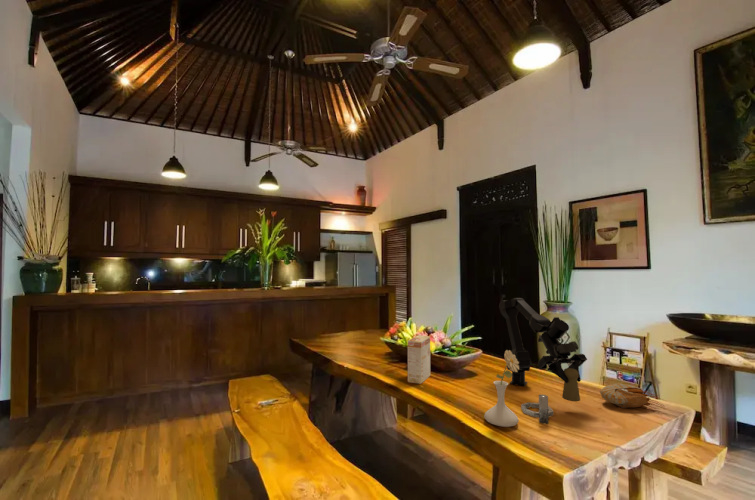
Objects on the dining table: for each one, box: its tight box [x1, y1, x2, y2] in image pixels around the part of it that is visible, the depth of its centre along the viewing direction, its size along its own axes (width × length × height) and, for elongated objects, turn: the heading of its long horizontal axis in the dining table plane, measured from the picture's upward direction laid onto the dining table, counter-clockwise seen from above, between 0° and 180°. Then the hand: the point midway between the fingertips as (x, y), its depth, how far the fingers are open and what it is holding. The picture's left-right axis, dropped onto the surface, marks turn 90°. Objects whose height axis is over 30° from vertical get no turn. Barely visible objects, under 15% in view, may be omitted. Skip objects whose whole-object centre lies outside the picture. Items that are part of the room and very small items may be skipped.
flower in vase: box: [483, 349, 520, 428], centre depth 127 cm, size 13×11×25 cm
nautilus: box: [599, 383, 668, 412], centre depth 141 cm, size 8×22×15 cm
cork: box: [561, 367, 581, 402], centre depth 137 cm, size 6×6×11 cm
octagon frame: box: [520, 394, 554, 425], centre depth 134 cm, size 16×10×9 cm, turn 170°
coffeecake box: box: [407, 334, 431, 385], centre depth 176 cm, size 15×7×20 cm, turn 154°
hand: (573, 381), depth 136 cm, fingers closed on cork, 5 cm apart
